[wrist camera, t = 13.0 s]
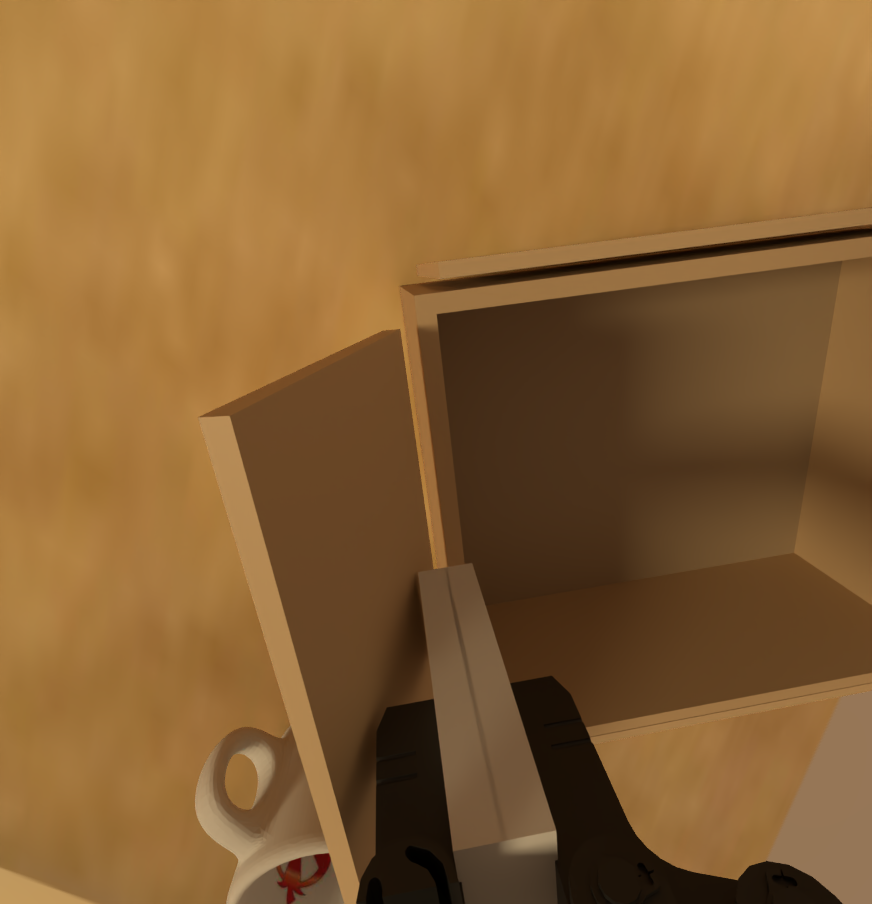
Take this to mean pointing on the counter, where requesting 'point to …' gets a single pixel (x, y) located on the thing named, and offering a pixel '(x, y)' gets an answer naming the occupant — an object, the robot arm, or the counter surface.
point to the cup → (268, 824)
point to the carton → (660, 464)
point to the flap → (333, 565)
